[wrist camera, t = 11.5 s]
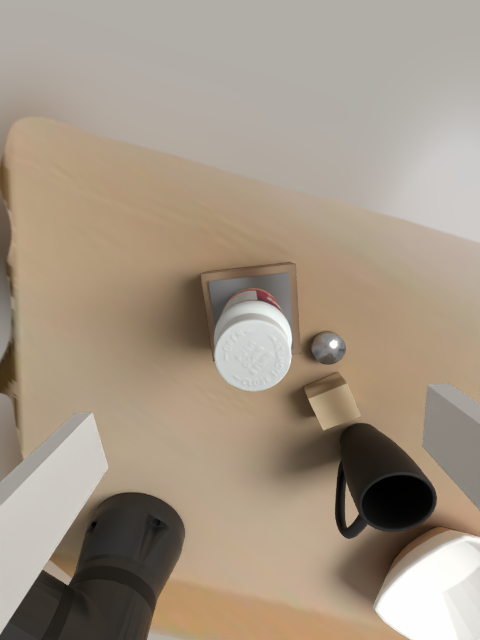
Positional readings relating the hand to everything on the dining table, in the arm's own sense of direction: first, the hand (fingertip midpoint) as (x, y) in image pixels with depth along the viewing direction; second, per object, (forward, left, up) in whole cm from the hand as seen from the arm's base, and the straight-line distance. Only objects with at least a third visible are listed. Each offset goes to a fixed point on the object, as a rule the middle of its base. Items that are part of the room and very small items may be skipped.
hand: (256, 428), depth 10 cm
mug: (+12, -22, -23) cm, 34 cm away
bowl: (+26, -45, -23) cm, 57 cm away
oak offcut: (+9, -13, -22) cm, 27 cm away
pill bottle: (0, 0, -18) cm, 18 cm away
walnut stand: (0, 0, -22) cm, 22 cm away
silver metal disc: (+9, -6, -22) cm, 25 cm away
